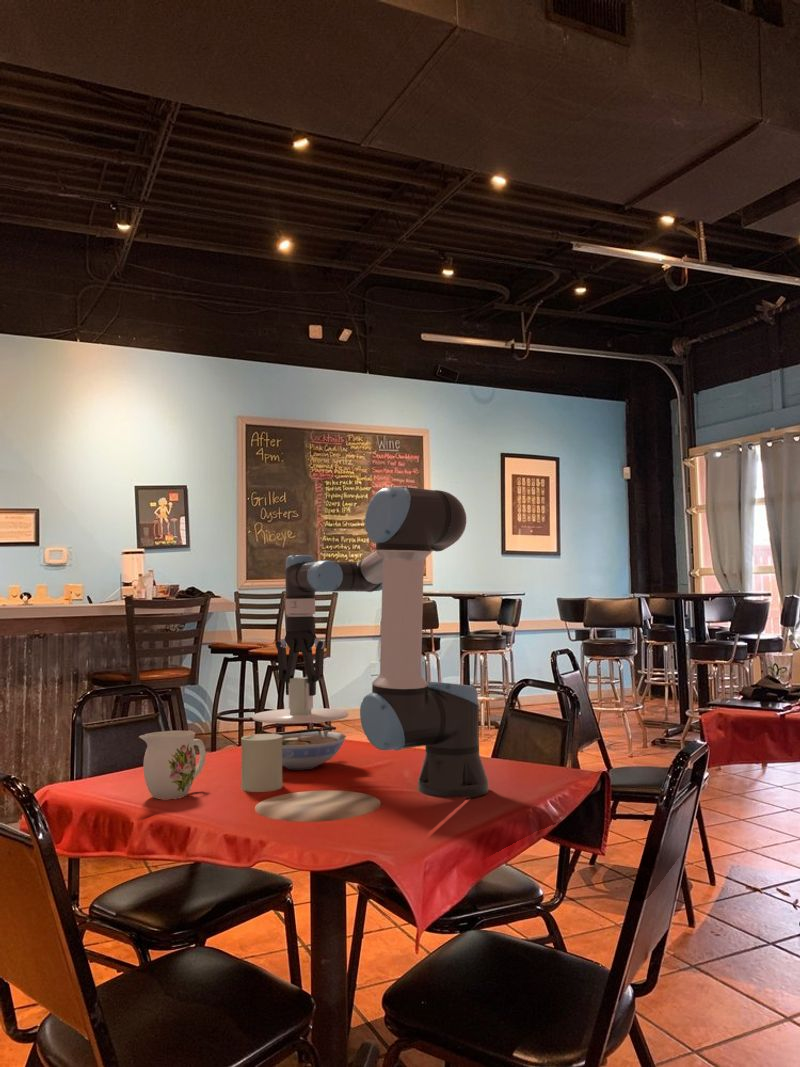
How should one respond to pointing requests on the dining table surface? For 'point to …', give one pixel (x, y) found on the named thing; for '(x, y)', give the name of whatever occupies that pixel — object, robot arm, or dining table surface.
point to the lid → (299, 709)
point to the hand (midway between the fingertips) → (300, 708)
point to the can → (261, 762)
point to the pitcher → (171, 763)
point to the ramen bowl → (309, 747)
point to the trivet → (317, 806)
